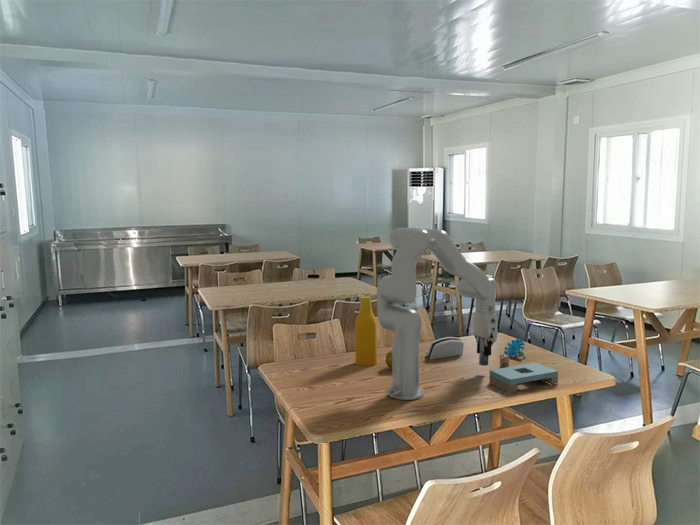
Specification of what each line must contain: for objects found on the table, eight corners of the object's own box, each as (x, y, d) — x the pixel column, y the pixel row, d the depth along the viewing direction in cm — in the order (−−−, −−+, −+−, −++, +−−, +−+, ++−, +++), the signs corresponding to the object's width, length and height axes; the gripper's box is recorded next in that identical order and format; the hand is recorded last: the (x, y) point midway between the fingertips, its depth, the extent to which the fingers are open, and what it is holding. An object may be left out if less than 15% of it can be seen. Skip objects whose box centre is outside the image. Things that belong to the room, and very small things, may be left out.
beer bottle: (375, 367, 229) (375, 299, 226) (354, 366, 231) (353, 298, 227) (378, 360, 238) (377, 295, 235) (357, 360, 240) (356, 295, 236)
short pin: (506, 371, 220) (506, 357, 219) (498, 370, 222) (498, 355, 221) (510, 369, 222) (510, 355, 222) (502, 368, 225) (502, 353, 224)
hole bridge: (510, 392, 196) (510, 379, 195) (489, 382, 207) (489, 370, 206) (557, 384, 204) (558, 371, 204) (535, 374, 215) (535, 362, 215)
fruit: (402, 364, 232) (402, 346, 231) (412, 370, 223) (412, 351, 223) (382, 367, 228) (381, 348, 228) (391, 373, 220) (391, 354, 219)
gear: (499, 350, 245) (514, 334, 245) (506, 358, 247) (522, 342, 247) (512, 360, 235) (528, 343, 235) (519, 368, 237) (536, 352, 237)
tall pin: (485, 366, 215) (486, 336, 214) (477, 364, 217) (478, 334, 216) (489, 364, 218) (490, 334, 216) (481, 362, 220) (482, 333, 219)
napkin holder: (456, 351, 250) (461, 333, 245) (462, 357, 246) (466, 339, 242) (424, 356, 243) (428, 337, 239) (430, 362, 239) (434, 343, 235)
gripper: (506, 311, 209) (505, 358, 211) (479, 304, 224) (478, 348, 226) (491, 313, 206) (489, 360, 208) (464, 306, 221) (463, 350, 223)
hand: (483, 353), depth 217 cm, fingers closed on tall pin, 3 cm apart
